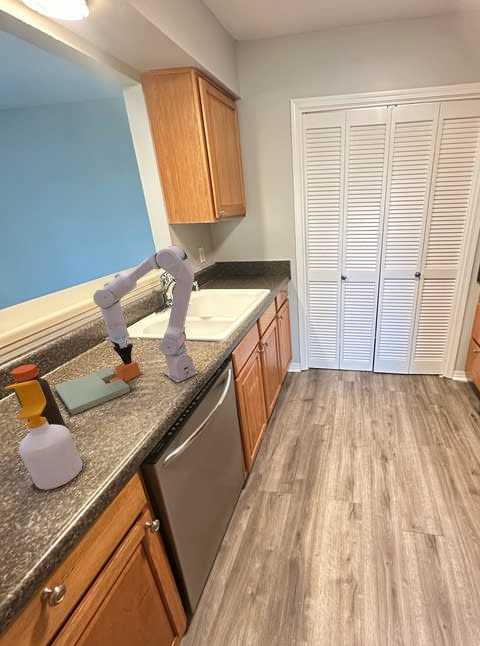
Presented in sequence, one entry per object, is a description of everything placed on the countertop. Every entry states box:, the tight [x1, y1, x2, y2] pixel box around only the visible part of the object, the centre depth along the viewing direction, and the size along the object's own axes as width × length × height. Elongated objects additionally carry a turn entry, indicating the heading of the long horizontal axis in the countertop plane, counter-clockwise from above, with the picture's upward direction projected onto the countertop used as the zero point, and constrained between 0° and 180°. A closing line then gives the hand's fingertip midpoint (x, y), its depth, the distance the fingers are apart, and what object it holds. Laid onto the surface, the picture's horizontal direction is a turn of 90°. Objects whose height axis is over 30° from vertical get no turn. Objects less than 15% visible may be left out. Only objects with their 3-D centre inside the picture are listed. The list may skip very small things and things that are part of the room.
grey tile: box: [54, 367, 131, 416], centre depth 106 cm, size 20×16×2 cm
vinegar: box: [10, 363, 67, 428], centre depth 84 cm, size 7×7×20 cm
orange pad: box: [108, 360, 142, 384], centre depth 112 cm, size 4×10×5 cm, turn 149°
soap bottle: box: [4, 380, 84, 490], centre depth 69 cm, size 9×9×25 cm
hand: (126, 359), depth 112 cm, fingers open, 7 cm apart
